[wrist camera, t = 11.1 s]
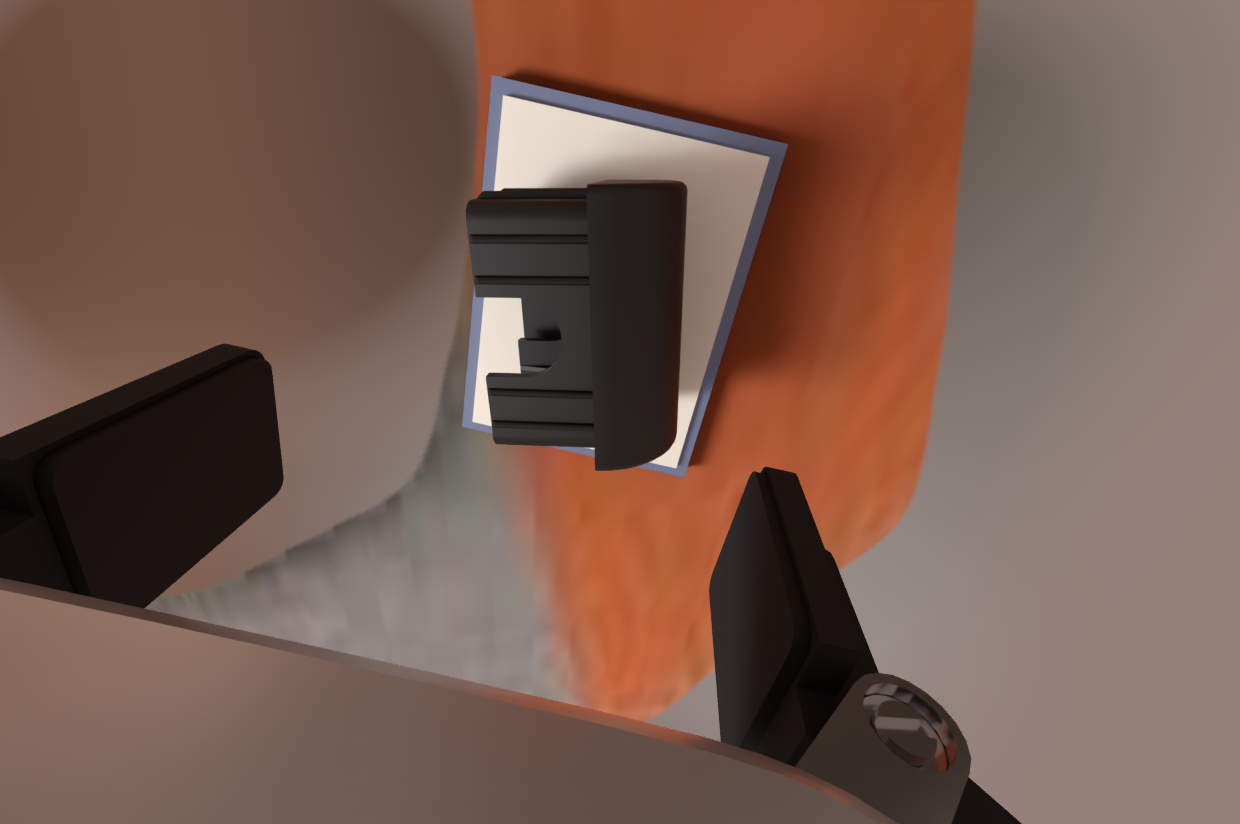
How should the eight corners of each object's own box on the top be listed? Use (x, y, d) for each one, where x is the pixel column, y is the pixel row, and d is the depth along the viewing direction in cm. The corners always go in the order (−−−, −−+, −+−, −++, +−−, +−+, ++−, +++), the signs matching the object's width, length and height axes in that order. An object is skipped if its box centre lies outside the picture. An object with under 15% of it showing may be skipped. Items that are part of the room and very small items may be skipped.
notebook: (499, 78, 22) (489, 74, 20) (783, 144, 22) (790, 143, 20) (468, 418, 28) (460, 429, 27) (684, 467, 29) (684, 480, 27)
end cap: (676, 402, 26) (677, 477, 19) (533, 398, 26) (490, 469, 20) (685, 178, 21) (690, 183, 15) (515, 179, 22) (454, 185, 16)
